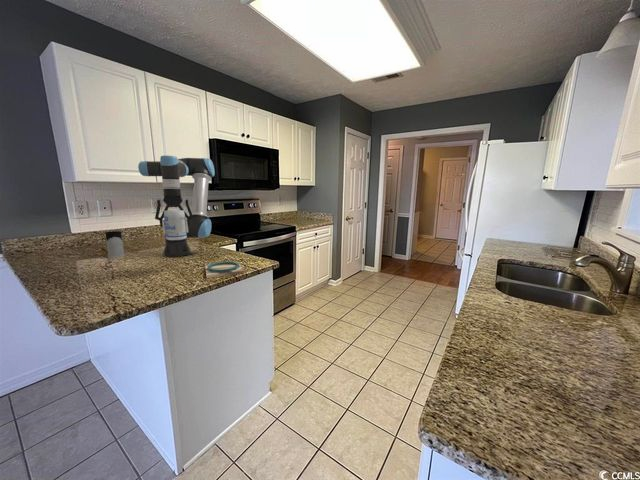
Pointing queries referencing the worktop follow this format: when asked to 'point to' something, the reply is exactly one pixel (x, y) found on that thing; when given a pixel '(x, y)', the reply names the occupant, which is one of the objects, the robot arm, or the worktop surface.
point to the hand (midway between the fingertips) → (176, 232)
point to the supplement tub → (175, 224)
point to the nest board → (223, 269)
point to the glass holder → (114, 244)
